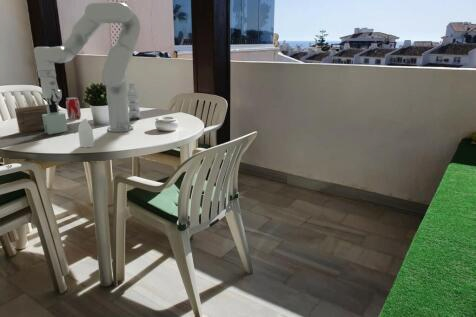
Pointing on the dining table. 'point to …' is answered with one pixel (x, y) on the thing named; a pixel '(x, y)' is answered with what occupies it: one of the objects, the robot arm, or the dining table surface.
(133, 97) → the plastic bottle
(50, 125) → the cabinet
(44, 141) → the dining table surface
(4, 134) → the dining table surface
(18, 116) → the brown boxy piece
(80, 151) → the dining table surface
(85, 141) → the white pointed crystal
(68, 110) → the soda can
